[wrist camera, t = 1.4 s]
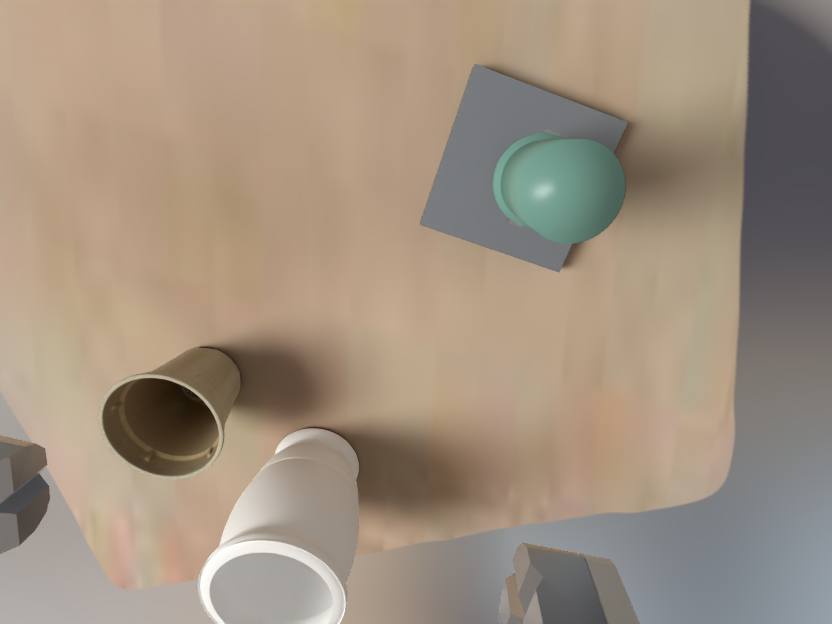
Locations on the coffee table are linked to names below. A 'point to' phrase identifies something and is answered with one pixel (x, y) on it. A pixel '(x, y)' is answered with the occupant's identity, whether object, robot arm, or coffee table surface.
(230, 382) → the flower pot
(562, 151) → the cap
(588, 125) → the post slab
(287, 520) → the jar
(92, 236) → the coffee table surface
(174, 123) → the coffee table surface
